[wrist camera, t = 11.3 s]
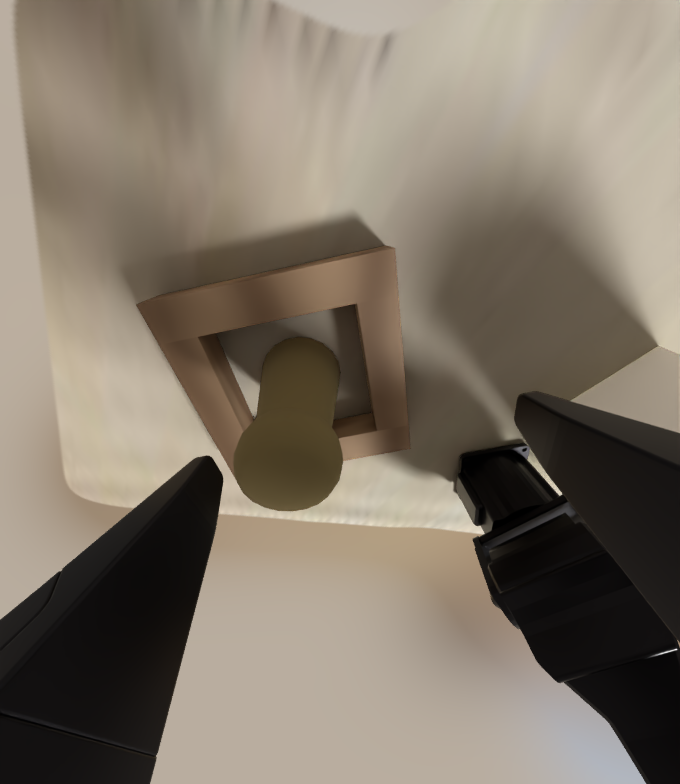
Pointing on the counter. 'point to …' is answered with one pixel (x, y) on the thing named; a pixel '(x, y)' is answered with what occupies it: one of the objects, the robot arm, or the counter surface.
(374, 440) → the socket block
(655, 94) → the counter surface
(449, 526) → the counter surface
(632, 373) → the milk
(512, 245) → the counter surface
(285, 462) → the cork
